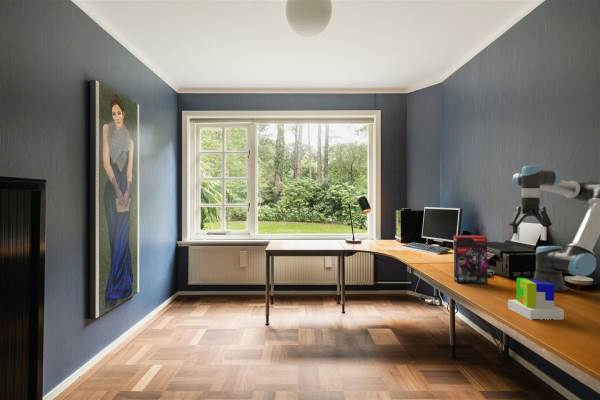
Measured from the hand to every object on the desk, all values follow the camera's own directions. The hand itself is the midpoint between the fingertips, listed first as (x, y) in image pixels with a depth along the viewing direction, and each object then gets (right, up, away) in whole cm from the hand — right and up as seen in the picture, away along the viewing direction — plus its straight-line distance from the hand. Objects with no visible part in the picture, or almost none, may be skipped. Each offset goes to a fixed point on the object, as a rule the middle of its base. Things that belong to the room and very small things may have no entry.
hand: (530, 240), depth 168 cm
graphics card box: (-14, -29, +31) cm, 44 cm away
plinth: (-13, -29, -22) cm, 39 cm away
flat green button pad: (+2, -29, +53) cm, 61 cm away
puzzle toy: (-13, -25, -22) cm, 36 cm away
